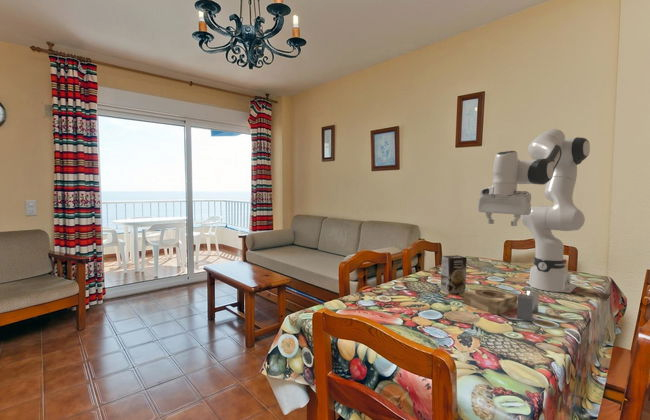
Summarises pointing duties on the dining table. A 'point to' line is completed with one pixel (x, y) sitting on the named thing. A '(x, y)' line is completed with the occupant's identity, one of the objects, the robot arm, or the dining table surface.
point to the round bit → (536, 299)
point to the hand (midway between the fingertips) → (501, 224)
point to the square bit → (525, 307)
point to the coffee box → (453, 274)
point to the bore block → (490, 300)
